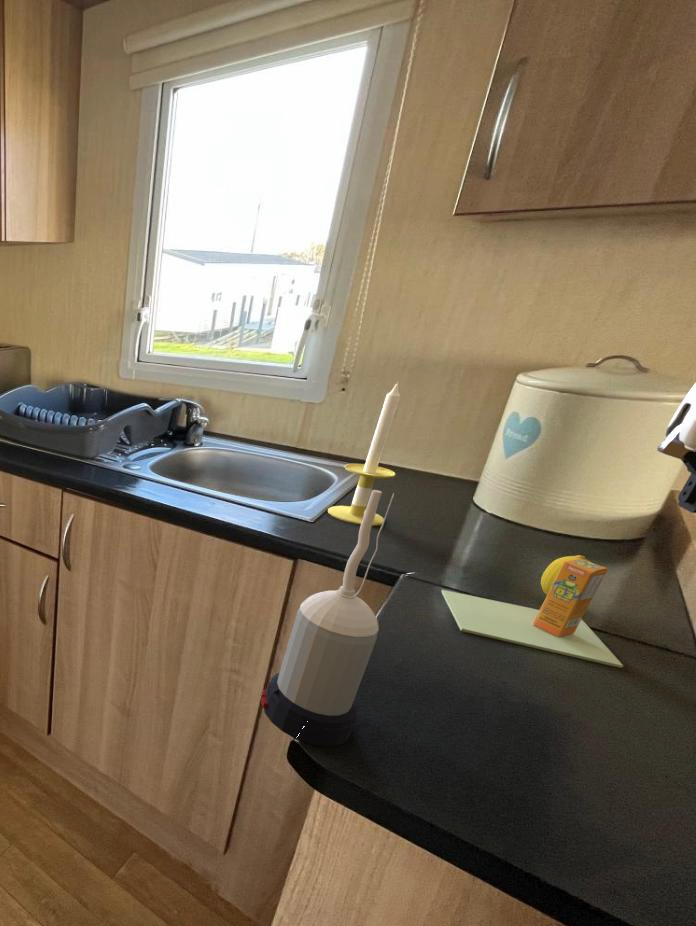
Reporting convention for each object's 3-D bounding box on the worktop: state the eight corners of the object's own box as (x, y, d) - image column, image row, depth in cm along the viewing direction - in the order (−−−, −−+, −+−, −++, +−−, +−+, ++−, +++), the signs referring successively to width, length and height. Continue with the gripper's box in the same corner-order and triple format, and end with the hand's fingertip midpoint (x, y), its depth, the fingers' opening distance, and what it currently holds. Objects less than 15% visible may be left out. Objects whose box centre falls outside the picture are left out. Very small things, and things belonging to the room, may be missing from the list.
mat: (580, 621, 77) (581, 618, 77) (622, 668, 67) (623, 665, 67) (441, 591, 83) (442, 589, 83) (460, 631, 73) (461, 628, 73)
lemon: (566, 598, 83) (591, 550, 80) (592, 617, 78) (619, 567, 75) (523, 591, 84) (545, 544, 81) (546, 610, 79) (570, 561, 76)
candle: (395, 521, 110) (442, 384, 99) (365, 528, 105) (411, 386, 95) (346, 504, 118) (385, 376, 107) (316, 511, 114) (354, 378, 103)
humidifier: (245, 695, 60) (304, 478, 50) (309, 686, 62) (378, 474, 52) (299, 752, 53) (381, 511, 43) (369, 740, 54) (463, 506, 45)
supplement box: (529, 624, 75) (561, 559, 71) (545, 621, 76) (578, 556, 72) (558, 638, 72) (593, 571, 68) (575, 634, 73) (611, 568, 69)
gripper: (711, 341, 56) (623, 507, 64) (942, 354, 50) (815, 536, 58) (670, 337, 63) (594, 489, 70) (871, 348, 56) (765, 513, 64)
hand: (694, 510), depth 64 cm, fingers closed
